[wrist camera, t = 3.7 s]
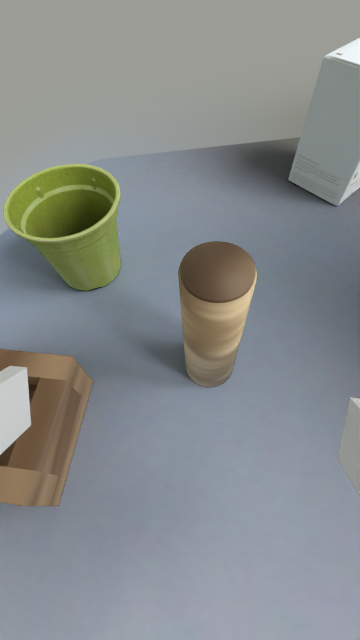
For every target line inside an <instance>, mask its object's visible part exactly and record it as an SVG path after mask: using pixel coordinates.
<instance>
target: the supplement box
mask: <svg viewBox="0 0 360 640" xmlns="http://www.w3.org/2000/svg"><path fill="white" fill-rule="evenodd" d="M288 180H289V181H291V182H293V183H295V184H296V185H298V186H300V187H302V188H304V189H305V190H307V191H309V192H311V193H313V194H314V195H316V196H318V197H320V198H322V199H324V200H326V201H328V202H329V203H331V204H334V205H336V206H338V205H340V204H341V203H342V202H343V201H344V200H345V199H346V198H347V197H348V196H350V195H351V194H352V193H353V192H354V191H356V190H357V189H358V188H360V38H358V39H356V40H354V41H352V42H351V43H348V44H346V45H344V46H343V47H341V48H339V49H337V50H335V51H333V52H331V53H329V54H327V55H325V56H324V58H323V61H322V64H321V68H320V72H319V75H318V78H317V82H316V86H315V89H314V92H313V96H312V99H311V102H310V106H309V109H308V113H307V116H306V120H305V123H304V127H303V130H302V134H301V137H300V140H299V144H298V147H297V151H296V154H295V158H294V161H293V164H292V168H291V171H290V175H289V178H288Z"/></svg>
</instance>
